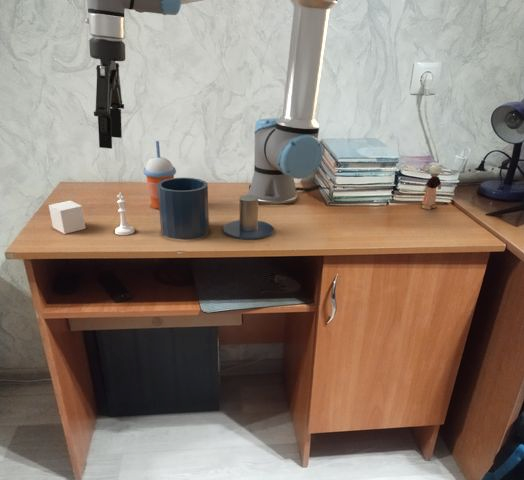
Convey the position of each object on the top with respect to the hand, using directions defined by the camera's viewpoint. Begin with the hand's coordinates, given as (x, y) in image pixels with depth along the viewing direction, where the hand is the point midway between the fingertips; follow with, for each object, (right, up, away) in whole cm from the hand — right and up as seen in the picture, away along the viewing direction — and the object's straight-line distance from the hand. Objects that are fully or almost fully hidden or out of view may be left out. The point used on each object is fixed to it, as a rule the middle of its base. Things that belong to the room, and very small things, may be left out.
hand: (111, 142), depth 124 cm
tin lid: (+32, -18, +12) cm, 39 cm away
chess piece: (0, -19, +11) cm, 22 cm away
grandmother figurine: (+86, -6, +34) cm, 93 cm away
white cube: (-14, -18, +12) cm, 26 cm away
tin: (+16, -19, +11) cm, 27 cm away
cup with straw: (+7, -7, +29) cm, 31 cm away
